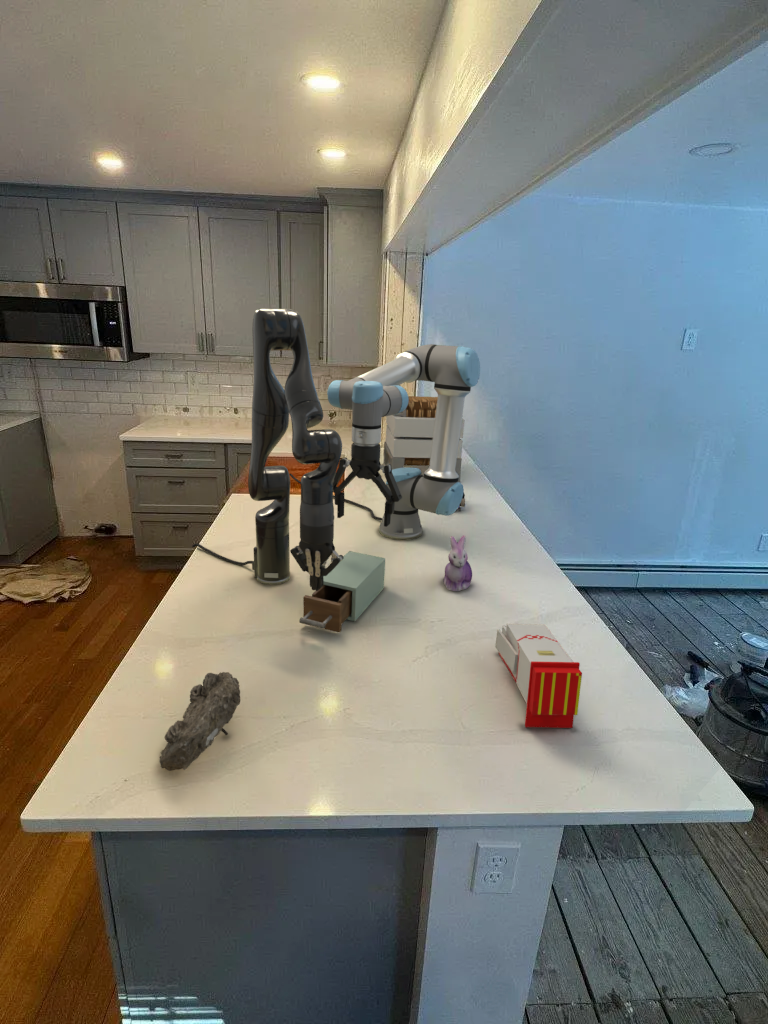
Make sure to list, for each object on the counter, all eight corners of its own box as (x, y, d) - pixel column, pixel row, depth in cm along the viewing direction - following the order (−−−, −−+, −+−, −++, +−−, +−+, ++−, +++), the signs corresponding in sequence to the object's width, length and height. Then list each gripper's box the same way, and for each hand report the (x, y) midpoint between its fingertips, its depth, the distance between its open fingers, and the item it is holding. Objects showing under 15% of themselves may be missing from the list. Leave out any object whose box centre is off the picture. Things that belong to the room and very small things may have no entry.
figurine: (453, 595, 158) (458, 546, 153) (434, 580, 167) (437, 532, 161) (481, 589, 162) (486, 541, 157) (460, 574, 171) (465, 528, 166)
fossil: (187, 673, 113) (240, 640, 108) (220, 704, 116) (274, 673, 111) (134, 764, 94) (196, 730, 89) (175, 799, 97) (237, 767, 92)
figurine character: (465, 515, 224) (460, 499, 237) (467, 498, 221) (462, 483, 234) (448, 515, 224) (444, 499, 237) (450, 498, 220) (445, 482, 234)
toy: (542, 608, 134) (591, 669, 104) (537, 660, 136) (583, 734, 107) (491, 607, 133) (526, 668, 104) (487, 660, 136) (520, 733, 107)
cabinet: (354, 621, 143) (355, 588, 140) (316, 612, 147) (316, 579, 144) (383, 588, 161) (385, 557, 158) (348, 580, 164) (349, 550, 161)
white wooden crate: (382, 463, 289) (386, 382, 275) (445, 464, 293) (451, 384, 279) (390, 482, 257) (394, 392, 243) (460, 483, 261) (468, 394, 247)
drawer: (329, 643, 131) (330, 615, 129) (292, 633, 135) (292, 606, 132) (369, 598, 153) (370, 573, 150) (336, 591, 156) (337, 566, 153)
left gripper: (282, 519, 124) (283, 590, 130) (336, 529, 120) (335, 602, 126) (298, 509, 131) (299, 576, 137) (351, 518, 127) (349, 588, 133)
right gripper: (315, 440, 146) (315, 517, 153) (407, 452, 138) (402, 533, 145) (328, 434, 153) (328, 509, 160) (416, 446, 144) (411, 523, 152)
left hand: (316, 588), depth 131 cm, fingers closed
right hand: (363, 520), depth 152 cm, fingers open, 13 cm apart
